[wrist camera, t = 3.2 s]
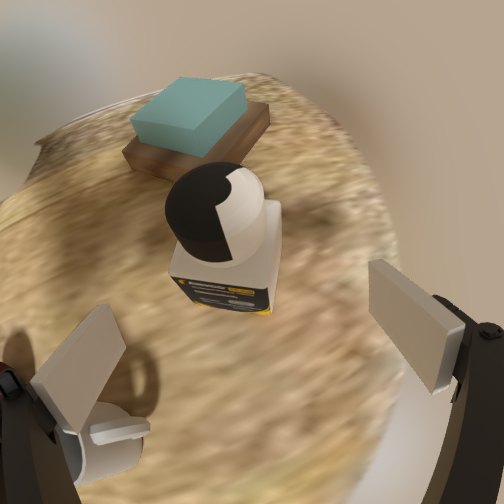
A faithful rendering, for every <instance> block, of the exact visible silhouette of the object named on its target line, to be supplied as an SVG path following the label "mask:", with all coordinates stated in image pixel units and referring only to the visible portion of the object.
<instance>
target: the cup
mask: <svg viewBox="0 0 504 504" xmlns="http://www.w3.org/2000/svg"><path fill="white" fill-rule="evenodd" d="M55 430H56V431H57V432H58V434H59V438H60V442H61V445H62V449H63V452H64V456H65V459H66V462H67V465H68V469H69V472H70V475H71V477H72V480H73V483H74V486H75V487H78V486H81V485H85V484H88V483H92V482H95V481H98V480H102V479H105V478H108V477H111V476H114V475H117V474H120V473H122V472H125V471H128V470H130V469H131V468H133V467H134V466H135V465H136V464H137V463H138V461H139V459H140V457H141V453H142V438H141V437H143V436H145V435H147V434H148V433H149V432H150V423H149V422H148V421H147V420H146V419H145V418H144V417H135V416H130V415H129V414H128V413H127V412H126V411H125V410H123V409H122V408H121V407H119V406H117V405H114V404H112V403H107V402H100V401H96V402H95V404H94V406H93V408H92V410H91V412H90V414H89V415H88V417H87V419H86V421H85V423H84V425H83V427H82V429H81V431H80V433H79V435H74V434H69V433H65V432H64V431H63V430H62V428H61V427H60V426H59V424H58V423H57V424H56V426H55Z"/></svg>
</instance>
